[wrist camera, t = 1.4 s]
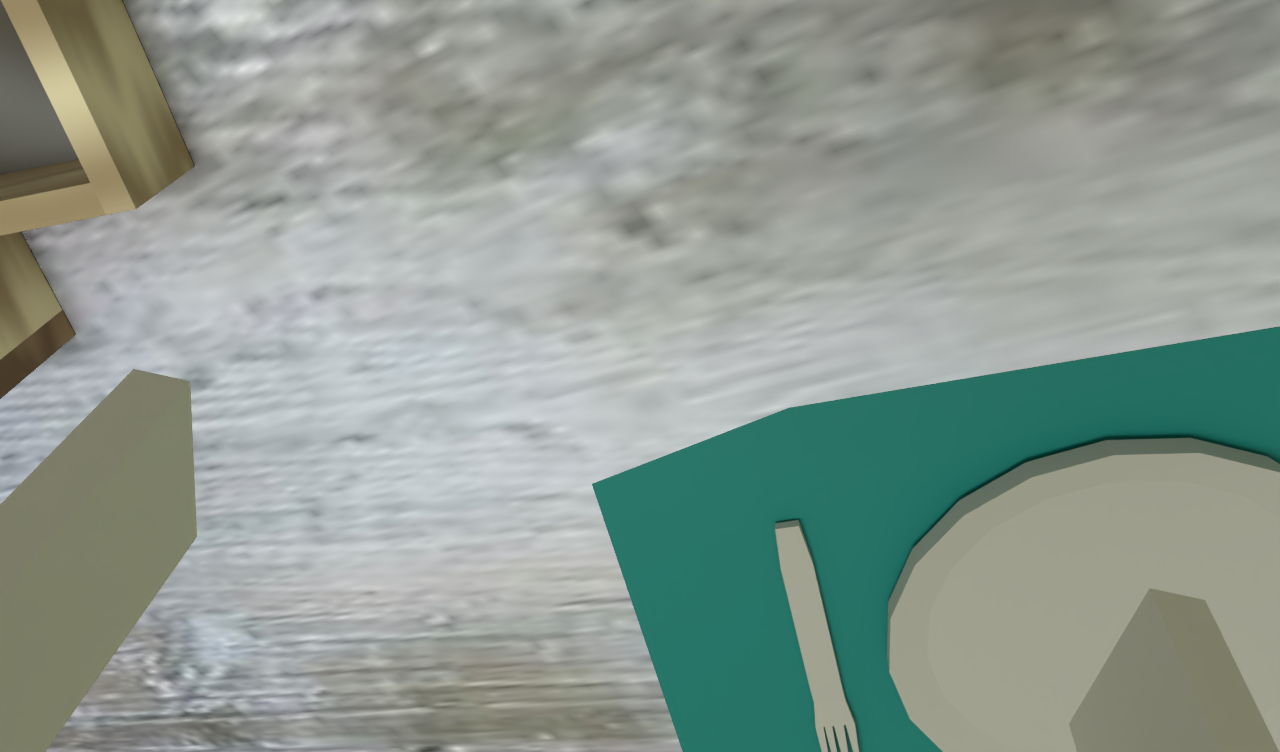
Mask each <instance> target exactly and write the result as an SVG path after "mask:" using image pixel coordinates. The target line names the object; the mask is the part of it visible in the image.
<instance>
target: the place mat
mask: <svg viewBox="0 0 1280 752" xmlns="http://www.w3.org/2000/svg"><path fill="white" fill-rule="evenodd" d="M592 486H593V489H594V492H595V494H596V497H597V500H598V503H599V506H600V509H601V512H602V515H603V518H604V521H605V524H606V527H607V530H608V533H609V536H610V539H611V542H612V544H613V547H614V550H615V553H616V556H617V559H618V562H619V565H620V568H621V571H622V574H623V577H624V580H625V583H626V586H627V589H628V592H629V595H630V597H631V600H632V603H633V606H634V609H635V612H636V615H637V618H638V621H639V624H640V627H641V630H642V633H643V636H644V639H645V642H646V645H647V647H648V650H649V653H650V656H651V659H652V662H653V665H654V668H655V671H656V674H657V677H658V680H659V683H660V686H661V689H662V692H663V695H664V698H665V700H666V703H667V706H668V709H669V712H670V715H671V718H672V721H673V724H674V727H675V730H676V733H677V736H678V739H679V742H680V745H681V748H682V750H683V752H1077V750H1076V746H1075V743H1074V739H1073V736H1072V733H1071V729H1070V726H1069V723H1070V721H1071V719H1072V718H1073V716H1074V714H1075V713H1076V711H1077V709H1078V708H1079V706H1080V704H1081V703H1082V701H1083V699H1084V698H1085V696H1086V694H1087V693H1088V691H1089V689H1090V688H1091V686H1092V684H1093V683H1094V681H1095V679H1096V677H1097V676H1098V674H1099V672H1100V671H1101V669H1102V667H1103V666H1104V664H1105V662H1106V661H1107V659H1108V657H1109V656H1110V654H1111V652H1112V651H1113V649H1114V647H1115V646H1116V644H1117V642H1118V640H1119V639H1120V637H1121V635H1122V634H1123V632H1124V630H1125V629H1126V627H1127V625H1128V624H1129V622H1130V620H1131V619H1132V617H1133V615H1134V614H1135V612H1136V610H1137V609H1138V607H1139V605H1140V604H1141V602H1142V600H1143V598H1144V597H1145V595H1146V593H1147V592H1148V590H1149V588H1151V589H1156V590H1161V591H1165V592H1170V593H1174V594H1179V595H1184V596H1188V597H1193V598H1198V599H1202V600H1205V601H1206V603H1207V605H1208V607H1209V609H1210V611H1211V613H1212V615H1213V617H1214V619H1215V621H1216V623H1217V625H1218V627H1219V629H1220V631H1221V633H1222V636H1223V638H1224V640H1225V642H1226V644H1227V646H1228V648H1229V650H1230V652H1231V654H1232V656H1233V658H1234V660H1235V662H1236V664H1237V666H1238V668H1239V670H1240V672H1241V674H1242V676H1243V679H1244V681H1245V683H1246V685H1247V687H1248V689H1249V691H1250V693H1251V695H1252V697H1253V699H1254V701H1255V703H1256V705H1257V707H1258V709H1259V711H1260V713H1261V715H1262V717H1263V719H1264V722H1265V724H1266V726H1267V728H1268V730H1269V732H1270V734H1271V736H1272V738H1273V740H1274V742H1275V744H1276V746H1277V748H1278V750H1279V752H1280V327H1274V328H1268V329H1262V330H1256V331H1250V332H1244V333H1238V334H1232V335H1226V336H1220V337H1214V338H1208V339H1202V340H1196V341H1190V342H1184V343H1178V344H1172V345H1166V346H1160V347H1154V348H1147V349H1141V350H1135V351H1129V352H1123V353H1117V354H1111V355H1105V356H1099V357H1093V358H1087V359H1081V360H1075V361H1069V362H1063V363H1057V364H1051V365H1045V366H1039V367H1033V368H1027V369H1021V370H1015V371H1009V372H1003V373H997V374H991V375H985V376H979V377H973V378H967V379H960V380H954V381H948V382H942V383H936V384H930V385H924V386H918V387H912V388H906V389H900V390H894V391H888V392H882V393H876V394H870V395H864V396H858V397H852V398H846V399H840V400H834V401H828V402H822V403H816V404H810V405H804V406H798V407H792V408H788V409H785V410H782V411H780V412H777V413H775V414H772V415H770V416H767V417H764V418H762V419H759V420H756V421H754V422H751V423H749V424H746V425H744V426H741V427H738V428H736V429H733V430H731V431H728V432H726V433H723V434H720V435H718V436H715V437H712V438H710V439H708V440H705V441H702V442H700V443H697V444H694V445H692V446H689V447H687V448H684V449H681V450H679V451H676V452H674V453H671V454H669V455H666V456H663V457H661V458H658V459H656V460H653V461H651V462H648V463H645V464H643V465H640V466H638V467H635V468H633V469H630V470H627V471H625V472H622V473H620V474H617V475H614V476H612V477H609V478H607V479H604V480H601V481H599V482H596V483H594V484H592Z"/></svg>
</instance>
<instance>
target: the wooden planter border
mask: <svg viewBox="0 0 1280 752" xmlns="http://www.w3.org/2000/svg"><path fill="white" fill-rule="evenodd" d="M193 167H194V164H193V162H192V159H191V157H190V155H189V152H188V150H187V148H186V146H185V143H184V141H183V139H182V136H181V134H180V132H179V130H178V127H177V125H176V123H175V120H174V118H173V116H172V114H171V111H170V109H169V107H168V104H167V102H166V100H165V98H164V95H163V93H162V91H161V88H160V86H159V84H158V82H157V79H156V77H155V75H154V72H153V70H152V68H151V66H150V63H149V61H148V59H147V57H146V54H145V52H144V50H143V47H142V45H141V43H140V41H139V38H138V36H137V34H136V31H135V29H134V27H133V25H132V22H131V20H130V18H129V15H128V13H127V11H126V9H125V6H124V4H123V2H122V0H0V399H1V398H2V397H3V396H4V395H5V394H7V393H8V392H9V391H10V390H11V389H13V388H14V387H15V386H16V385H17V384H18V383H20V382H21V381H22V380H23V379H24V378H25V377H27V376H28V375H29V374H30V373H31V372H32V371H34V370H35V369H36V368H37V367H38V366H40V365H41V364H42V363H43V362H44V361H45V360H47V359H48V358H49V357H50V356H51V355H52V354H54V353H55V352H56V351H57V350H58V349H59V348H61V347H62V346H63V345H64V344H65V343H67V342H68V341H69V340H70V339H71V338H72V337H74V336H75V333H74V331H73V329H72V327H71V325H70V324H69V322H68V320H67V318H66V316H65V314H64V312H63V311H62V309H61V307H60V305H59V303H58V301H57V299H56V297H55V296H54V294H53V292H52V290H51V288H50V286H49V284H48V282H47V281H46V279H45V277H44V275H43V273H42V271H41V269H40V267H39V266H38V264H37V262H36V260H35V258H34V256H33V254H32V252H31V251H30V249H29V247H28V245H27V243H26V241H25V239H24V237H23V236H22V234H21V231H26V230H32V229H37V228H42V227H47V226H52V225H57V224H62V223H67V222H72V221H78V220H83V219H88V218H93V217H98V216H103V215H108V214H113V213H118V212H124V211H129V210H134V209H137V208H138V207H139V206H141V205H142V204H144V203H145V202H146V201H148V200H149V199H150V198H152V197H153V196H154V195H156V194H157V193H159V192H160V191H161V190H163V189H164V188H165V187H167V186H168V185H169V184H171V183H172V182H174V181H175V180H176V179H178V178H179V177H180V176H182V175H183V174H184V173H186V172H187V171H189V170H190V169H191V168H193Z"/></svg>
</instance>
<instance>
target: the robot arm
mask: <svg viewBox="0 0 1280 752" xmlns="http://www.w3.org/2000/svg"><path fill="white" fill-rule="evenodd" d="M196 537H197V529H196V506H195V483H194V460H193V437H192V413H191V390H190V381H186V380H182V379H177V378H173V377H168V376H163V375H159V374H154V373H149V372H145V371H140V370H135V369H133V370H132V371H131V372H130V373H129V374H128V375H127V376H126V377H125V379H124V380H123V381H122V382H121V383H120V384H119V385H118V386H117V387H116V388H115V389H114V390H113V391H112V392H111V393H110V394H109V395H108V396H107V397H106V398H105V399H104V400H103V401H102V402H101V403H100V404H99V405H98V406H97V407H96V408H95V409H94V410H93V411H92V412H91V413H90V414H89V415H88V416H87V417H86V418H85V419H84V420H83V421H82V422H81V423H80V424H79V425H78V426H77V427H76V428H75V429H74V430H73V431H72V432H71V433H70V434H69V435H68V436H67V438H66V439H65V440H64V441H63V442H62V443H61V444H60V445H59V446H58V447H57V448H56V449H55V450H54V451H53V452H52V453H51V454H50V455H49V456H48V457H47V458H46V459H45V460H44V461H43V462H42V463H41V464H40V465H39V466H38V467H37V468H36V469H35V470H34V471H33V472H32V473H31V474H30V475H29V476H28V477H27V478H26V479H25V480H24V481H23V482H22V483H21V484H20V485H19V486H18V487H17V488H16V489H15V490H14V491H13V492H12V493H11V494H10V495H9V497H8V498H7V499H6V500H5V501H4V502H3V503H2V504H1V505H0V752H46V750H47V749H48V747H49V746H50V744H51V743H52V742H53V740H54V739H55V737H56V736H57V734H58V733H59V732H60V730H61V729H62V727H63V726H64V725H65V723H66V722H67V720H68V719H69V717H70V716H71V715H72V713H73V712H74V710H75V709H76V708H77V706H78V705H79V703H80V702H81V700H82V699H83V698H84V696H85V695H86V693H87V692H88V690H89V689H90V688H91V686H92V685H93V683H94V682H95V681H96V679H97V678H98V676H99V675H100V673H101V672H102V671H103V669H104V668H105V666H106V665H107V664H108V662H109V661H110V659H111V658H112V656H113V655H114V654H115V652H116V651H117V649H118V648H119V647H120V645H121V644H122V642H123V641H124V639H125V638H126V637H127V635H128V634H129V632H130V631H131V629H132V628H133V627H134V625H135V624H136V622H137V621H138V620H139V618H140V617H141V615H142V614H143V612H144V611H145V610H146V608H147V607H148V605H149V604H150V603H151V601H152V600H153V598H154V597H155V595H156V594H157V593H158V591H159V590H160V588H161V587H162V585H163V584H164V583H165V581H166V580H167V578H168V577H169V576H170V574H171V573H172V571H173V570H174V568H175V567H176V566H177V564H178V563H179V561H180V560H181V559H182V557H183V556H184V554H185V553H186V551H187V550H188V549H189V547H190V546H191V544H192V543H193V542H194V540H195V539H196ZM1069 726H1070V729H1071V733H1072V736H1073V739H1074V743H1075V746H1076V750H1077V752H1279V750H1278V748H1277V746H1276V744H1275V742H1274V740H1273V738H1272V736H1271V734H1270V732H1269V730H1268V728H1267V726H1266V724H1265V722H1264V719H1263V717H1262V715H1261V713H1260V711H1259V709H1258V707H1257V705H1256V703H1255V701H1254V699H1253V697H1252V695H1251V693H1250V691H1249V689H1248V687H1247V685H1246V683H1245V681H1244V679H1243V676H1242V674H1241V672H1240V670H1239V668H1238V666H1237V664H1236V662H1235V660H1234V658H1233V656H1232V654H1231V652H1230V650H1229V648H1228V646H1227V644H1226V642H1225V640H1224V638H1223V636H1222V633H1221V631H1220V629H1219V627H1218V625H1217V623H1216V621H1215V619H1214V617H1213V615H1212V613H1211V611H1210V609H1209V607H1208V605H1207V603H1206V601H1205V600H1202V599H1198V598H1193V597H1188V596H1184V595H1179V594H1174V593H1170V592H1165V591H1161V590H1156V589H1151V588H1149V590H1148V592H1147V593H1146V595H1145V597H1144V598H1143V600H1142V602H1141V604H1140V605H1139V607H1138V609H1137V610H1136V612H1135V614H1134V615H1133V617H1132V619H1131V620H1130V622H1129V624H1128V625H1127V627H1126V629H1125V630H1124V632H1123V634H1122V635H1121V637H1120V639H1119V640H1118V642H1117V644H1116V646H1115V647H1114V649H1113V651H1112V652H1111V654H1110V656H1109V657H1108V659H1107V661H1106V662H1105V664H1104V666H1103V667H1102V669H1101V671H1100V672H1099V674H1098V676H1097V677H1096V679H1095V681H1094V683H1093V684H1092V686H1091V688H1090V689H1089V691H1088V693H1087V694H1086V696H1085V698H1084V699H1083V701H1082V703H1081V704H1080V706H1079V708H1078V709H1077V711H1076V713H1075V714H1074V716H1073V718H1072V719H1071V721H1070V723H1069Z"/></svg>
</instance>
